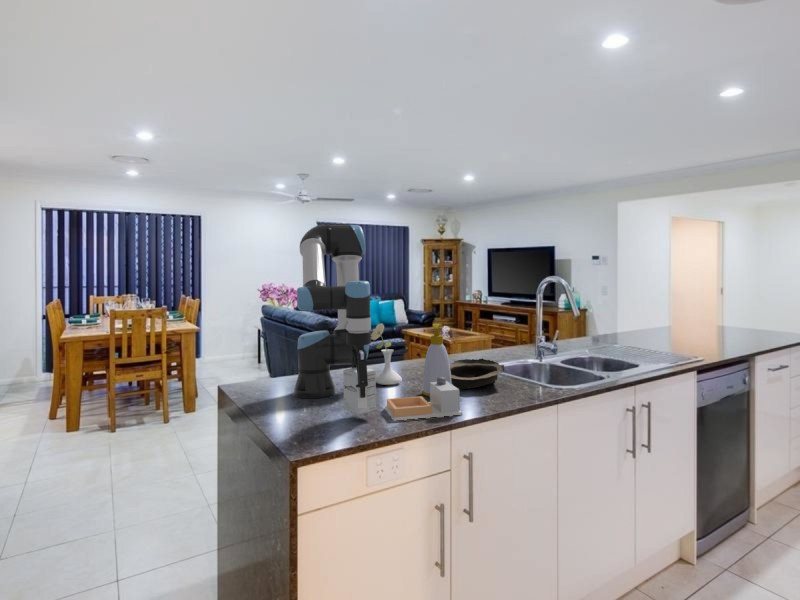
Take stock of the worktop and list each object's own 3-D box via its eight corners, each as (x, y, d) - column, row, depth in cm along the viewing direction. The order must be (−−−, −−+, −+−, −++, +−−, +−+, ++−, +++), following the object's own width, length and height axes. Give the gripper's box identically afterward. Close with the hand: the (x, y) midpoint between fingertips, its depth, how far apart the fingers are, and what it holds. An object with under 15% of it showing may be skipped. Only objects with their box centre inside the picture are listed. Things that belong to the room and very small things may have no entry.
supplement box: (343, 409, 147) (342, 369, 146) (361, 404, 152) (360, 365, 151) (358, 415, 142) (357, 373, 141) (376, 409, 147) (376, 369, 146)
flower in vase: (390, 379, 201) (389, 320, 199) (407, 384, 192) (406, 322, 190) (365, 384, 193) (363, 323, 191) (381, 389, 184) (380, 325, 182)
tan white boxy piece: (393, 421, 144) (393, 388, 143) (384, 408, 158) (384, 378, 157) (462, 415, 149) (461, 383, 148) (447, 403, 163) (447, 374, 162)
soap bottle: (420, 397, 170) (419, 325, 169) (423, 390, 182) (422, 321, 180) (452, 398, 169) (451, 325, 167) (453, 390, 180) (452, 321, 179)
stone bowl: (500, 378, 199) (500, 356, 197) (507, 398, 174) (508, 374, 173) (441, 377, 201) (441, 355, 200) (440, 396, 176) (440, 372, 175)
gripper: (342, 327, 155) (343, 393, 157) (351, 337, 133) (352, 414, 135) (364, 326, 157) (366, 392, 159) (377, 336, 135) (378, 412, 137)
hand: (359, 402), depth 147 cm, fingers closed on supplement box, 10 cm apart
